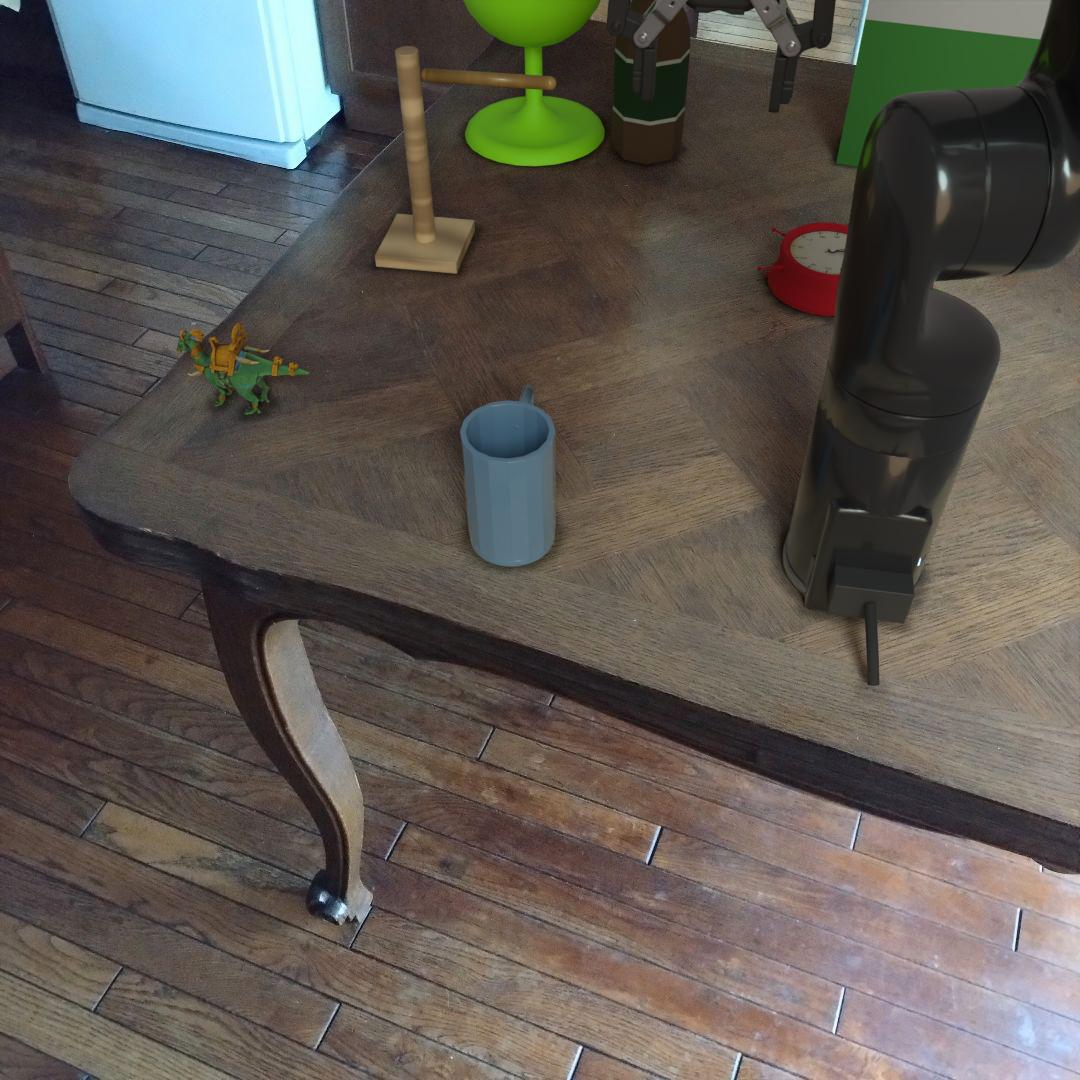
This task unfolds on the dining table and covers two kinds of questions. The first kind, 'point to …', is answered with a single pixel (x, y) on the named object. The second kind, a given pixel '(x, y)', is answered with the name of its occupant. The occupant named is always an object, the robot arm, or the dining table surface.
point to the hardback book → (936, 53)
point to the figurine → (234, 366)
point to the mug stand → (422, 234)
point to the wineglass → (533, 120)
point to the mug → (510, 480)
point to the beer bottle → (659, 124)
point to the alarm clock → (809, 267)
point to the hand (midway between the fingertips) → (710, 103)
